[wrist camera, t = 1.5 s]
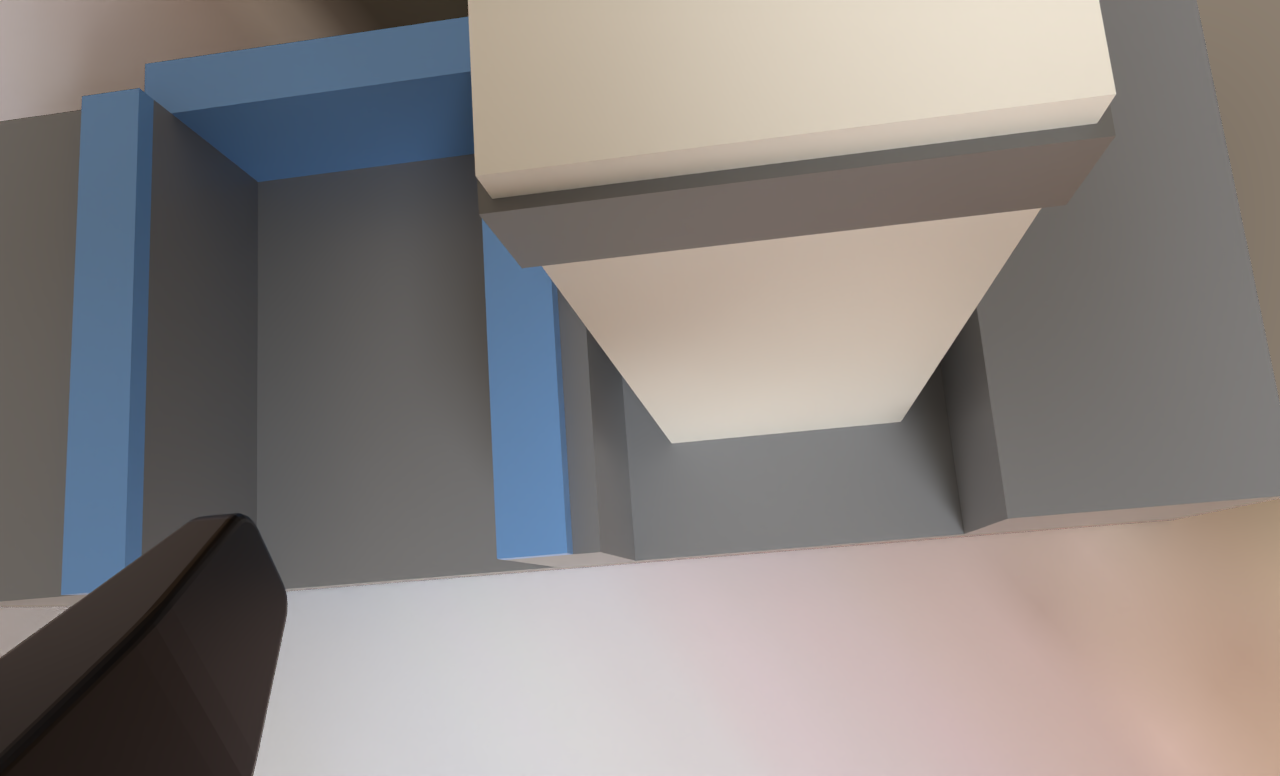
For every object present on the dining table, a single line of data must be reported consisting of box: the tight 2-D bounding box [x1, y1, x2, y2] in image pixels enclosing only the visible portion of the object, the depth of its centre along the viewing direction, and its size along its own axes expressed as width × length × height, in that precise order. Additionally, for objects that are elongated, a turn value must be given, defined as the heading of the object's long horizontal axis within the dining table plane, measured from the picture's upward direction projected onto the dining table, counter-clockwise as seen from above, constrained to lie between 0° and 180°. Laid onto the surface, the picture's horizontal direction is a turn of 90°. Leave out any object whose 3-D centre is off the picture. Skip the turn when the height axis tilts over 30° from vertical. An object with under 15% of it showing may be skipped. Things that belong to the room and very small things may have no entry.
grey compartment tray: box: [0, 0, 1280, 607], centre depth 18 cm, size 20×9×5 cm, turn 94°
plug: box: [468, 0, 1116, 443], centre depth 13 cm, size 4×4×12 cm
